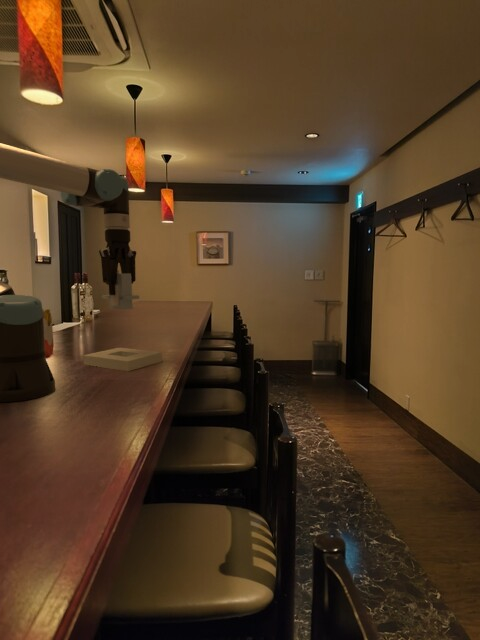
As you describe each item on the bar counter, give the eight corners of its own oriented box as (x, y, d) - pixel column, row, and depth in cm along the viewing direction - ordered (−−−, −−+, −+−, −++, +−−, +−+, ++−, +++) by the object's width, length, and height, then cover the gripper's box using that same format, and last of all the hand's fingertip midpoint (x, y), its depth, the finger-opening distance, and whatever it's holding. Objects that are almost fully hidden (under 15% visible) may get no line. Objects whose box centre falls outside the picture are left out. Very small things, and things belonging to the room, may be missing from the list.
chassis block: (128, 371, 123) (127, 361, 123) (83, 364, 133) (83, 355, 132) (162, 361, 136) (161, 352, 136) (119, 356, 146) (119, 347, 145)
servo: (130, 310, 128) (128, 270, 126) (102, 308, 134) (100, 270, 132) (139, 308, 131) (138, 270, 130) (112, 307, 137) (110, 270, 136)
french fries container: (55, 352, 154) (52, 303, 151) (49, 358, 143) (45, 305, 141) (41, 353, 152) (38, 303, 150) (34, 359, 142) (31, 305, 140)
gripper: (104, 226, 120) (108, 308, 123) (145, 230, 135) (148, 303, 138) (86, 227, 124) (90, 307, 127) (128, 231, 139) (131, 302, 142)
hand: (120, 305), depth 132 cm, fingers closed on servo, 4 cm apart
